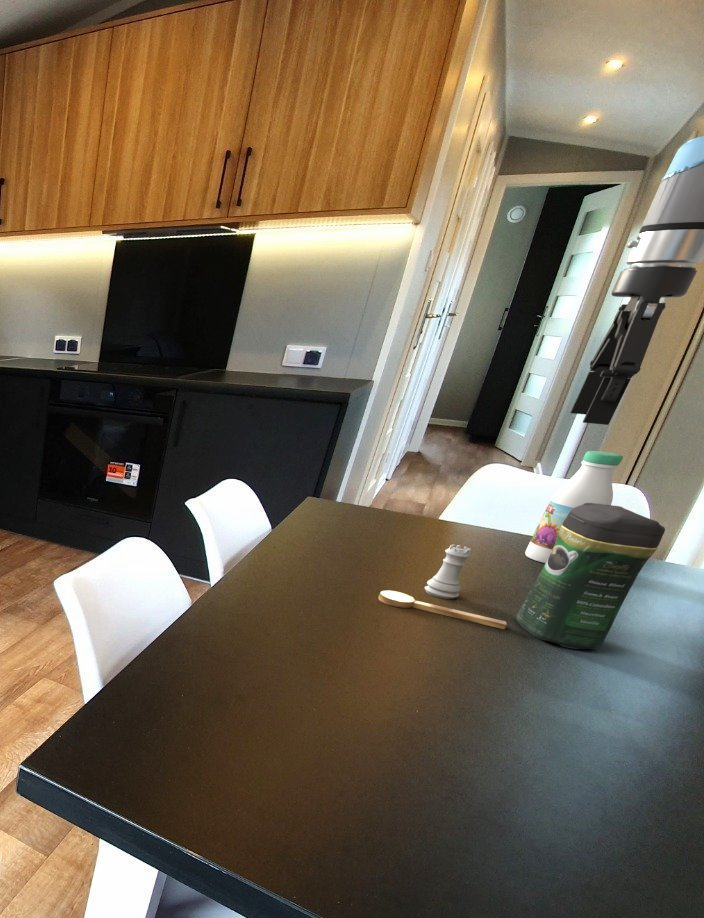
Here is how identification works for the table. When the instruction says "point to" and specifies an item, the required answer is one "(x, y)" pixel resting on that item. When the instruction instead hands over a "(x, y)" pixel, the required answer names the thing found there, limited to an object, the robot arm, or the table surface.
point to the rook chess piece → (449, 574)
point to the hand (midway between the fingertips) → (587, 418)
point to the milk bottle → (574, 499)
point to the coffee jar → (588, 575)
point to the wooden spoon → (436, 609)
